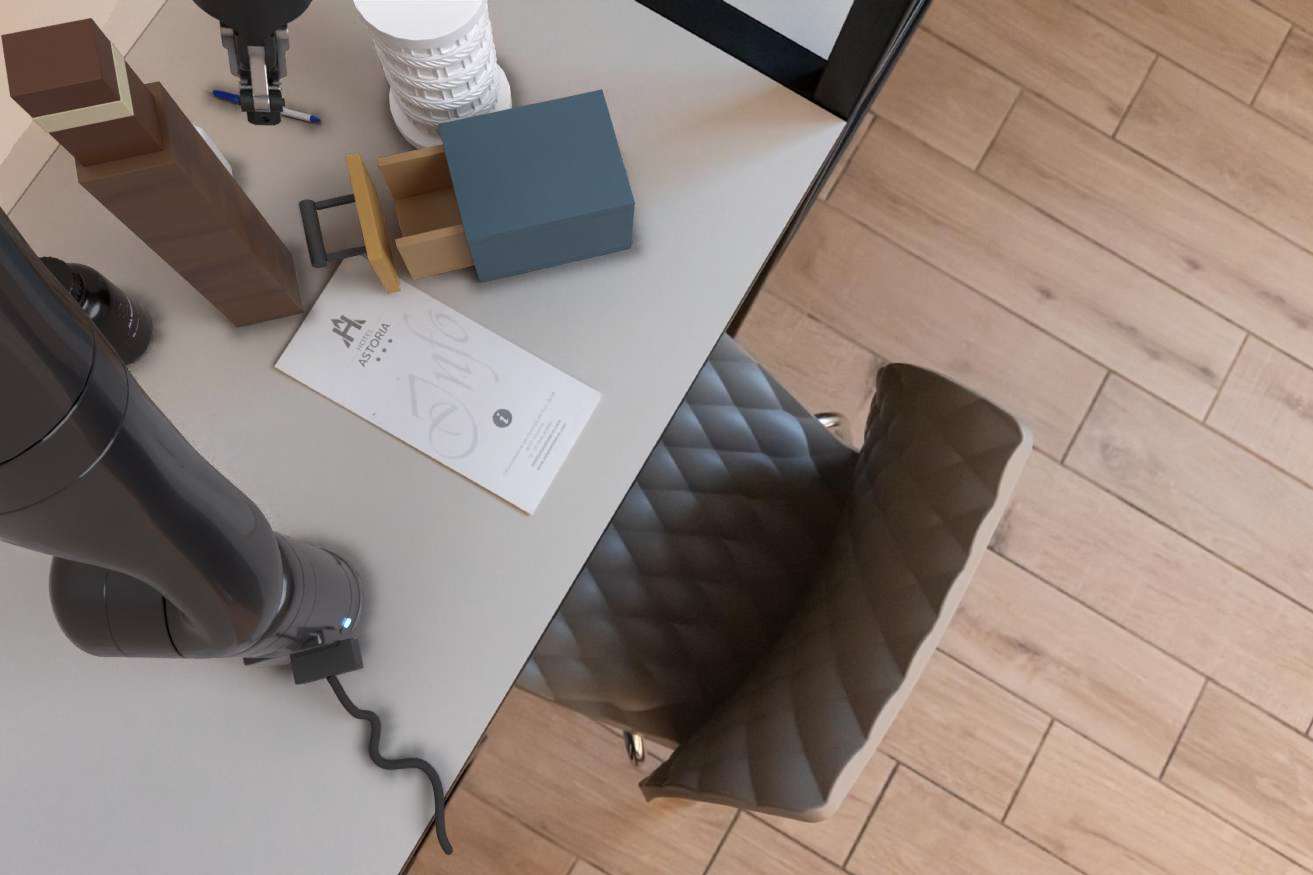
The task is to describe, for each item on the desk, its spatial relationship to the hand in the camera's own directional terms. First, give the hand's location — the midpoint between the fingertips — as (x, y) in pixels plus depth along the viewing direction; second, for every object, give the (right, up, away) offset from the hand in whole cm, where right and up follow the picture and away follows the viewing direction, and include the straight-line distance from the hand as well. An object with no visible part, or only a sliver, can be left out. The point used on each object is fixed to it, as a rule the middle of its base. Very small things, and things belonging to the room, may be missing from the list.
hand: (264, 116), depth 70 cm
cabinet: (+17, -1, +23) cm, 29 cm away
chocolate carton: (-6, -3, -7) cm, 10 cm away
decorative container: (+8, +9, +26) cm, 28 cm away
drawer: (+6, -4, +21) cm, 22 cm away
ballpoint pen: (-9, +9, +24) cm, 27 cm away
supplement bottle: (-21, -14, +19) cm, 31 cm away
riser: (-8, -9, +20) cm, 24 cm away
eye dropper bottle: (-15, +1, +22) cm, 27 cm away
